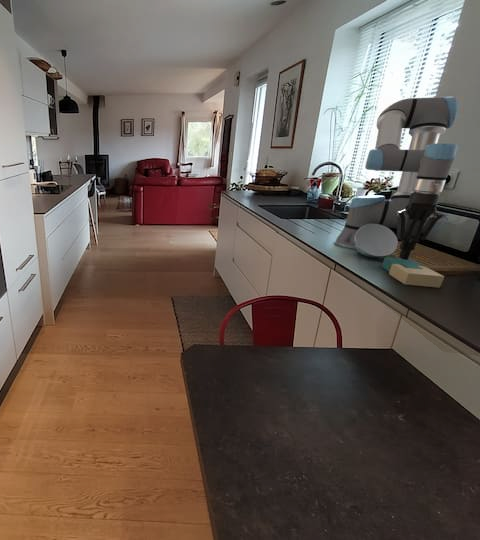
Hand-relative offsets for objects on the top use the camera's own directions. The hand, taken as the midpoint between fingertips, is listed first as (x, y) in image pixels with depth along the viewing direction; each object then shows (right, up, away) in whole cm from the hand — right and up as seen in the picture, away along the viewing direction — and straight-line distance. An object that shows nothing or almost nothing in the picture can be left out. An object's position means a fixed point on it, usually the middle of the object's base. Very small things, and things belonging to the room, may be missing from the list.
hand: (403, 258), depth 118 cm
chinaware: (+3, +5, +22) cm, 23 cm away
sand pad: (-3, -8, -7) cm, 11 cm away
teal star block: (0, -5, 0) cm, 5 cm away
